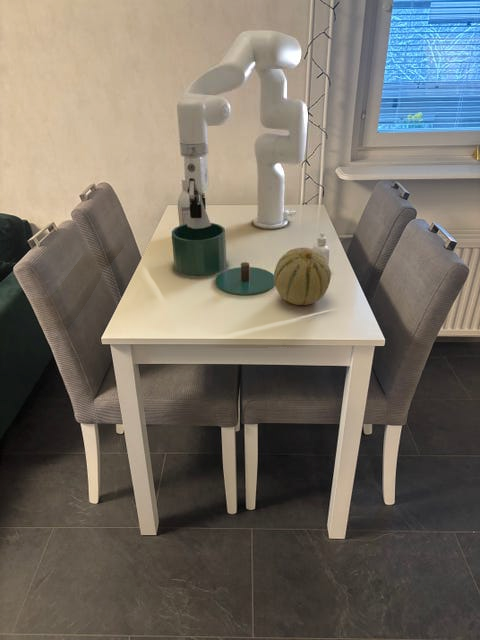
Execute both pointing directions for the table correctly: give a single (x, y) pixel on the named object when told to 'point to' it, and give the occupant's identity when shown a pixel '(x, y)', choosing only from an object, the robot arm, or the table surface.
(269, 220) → the robot arm
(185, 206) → the bath foam
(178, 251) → the tin
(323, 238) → the eye dropper bottle
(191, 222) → the flask
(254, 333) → the table surface
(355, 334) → the table surface
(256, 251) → the table surface
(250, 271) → the tin lid
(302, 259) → the cantaloupe
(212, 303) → the table surface
